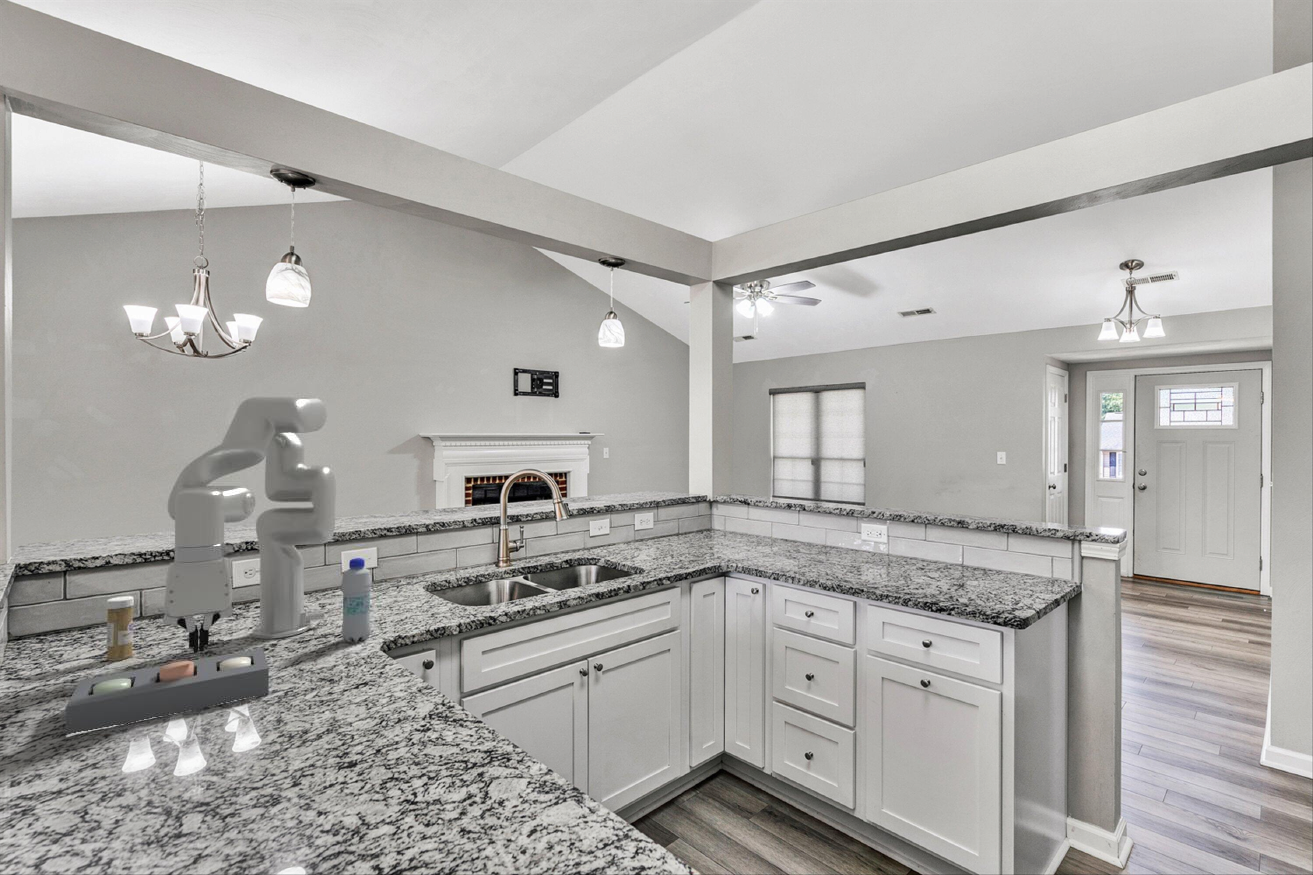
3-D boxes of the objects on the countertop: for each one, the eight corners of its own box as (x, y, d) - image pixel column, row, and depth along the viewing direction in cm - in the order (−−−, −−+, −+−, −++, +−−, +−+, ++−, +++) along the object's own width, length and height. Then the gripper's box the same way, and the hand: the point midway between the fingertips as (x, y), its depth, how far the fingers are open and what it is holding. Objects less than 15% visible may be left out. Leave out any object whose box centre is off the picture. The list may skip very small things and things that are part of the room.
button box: (262, 671, 126) (263, 648, 126) (268, 694, 115) (268, 668, 115) (79, 707, 109) (80, 679, 109) (65, 737, 98) (65, 707, 98)
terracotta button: (193, 677, 115) (193, 659, 115) (193, 685, 111) (193, 666, 111) (160, 683, 112) (160, 664, 112) (158, 692, 108) (158, 673, 108)
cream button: (249, 672, 121) (250, 655, 121) (251, 680, 117) (251, 662, 117) (219, 678, 118) (219, 660, 118) (219, 686, 114) (220, 668, 114)
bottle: (377, 636, 149) (378, 556, 149) (356, 645, 143) (356, 561, 143) (356, 633, 151) (357, 554, 151) (334, 642, 145) (334, 559, 145)
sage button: (132, 695, 110) (132, 676, 110) (129, 704, 106) (129, 684, 106) (95, 702, 107) (95, 682, 107) (90, 712, 103) (90, 691, 103)
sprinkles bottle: (131, 658, 133) (131, 598, 133) (103, 663, 131) (104, 601, 131) (135, 652, 137) (135, 594, 137) (108, 656, 135) (108, 597, 135)
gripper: (245, 547, 122) (244, 637, 121) (149, 555, 112) (148, 653, 112) (248, 552, 116) (247, 647, 115) (147, 561, 106) (146, 665, 106)
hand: (198, 650), depth 114 cm, fingers closed
